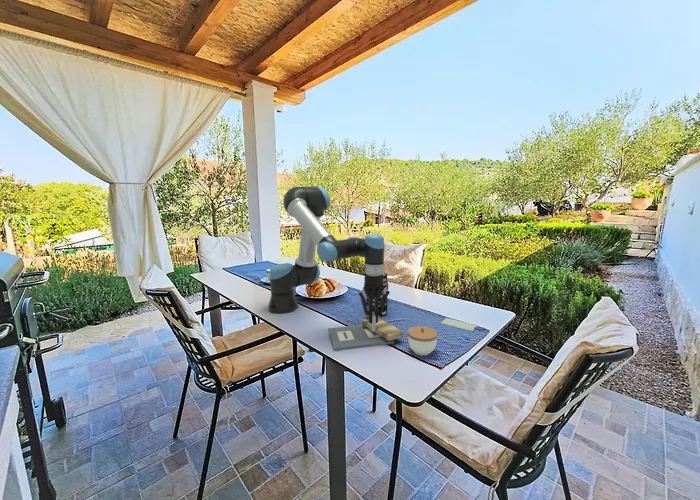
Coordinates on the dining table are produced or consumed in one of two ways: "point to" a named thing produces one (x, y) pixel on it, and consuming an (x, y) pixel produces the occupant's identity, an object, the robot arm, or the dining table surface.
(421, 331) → the lidded jar
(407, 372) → the dining table surface
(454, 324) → the smartphone
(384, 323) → the swing arm
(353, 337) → the label panel
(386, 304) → the spotted tube
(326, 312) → the dining table surface
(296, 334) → the dining table surface
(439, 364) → the dining table surface
